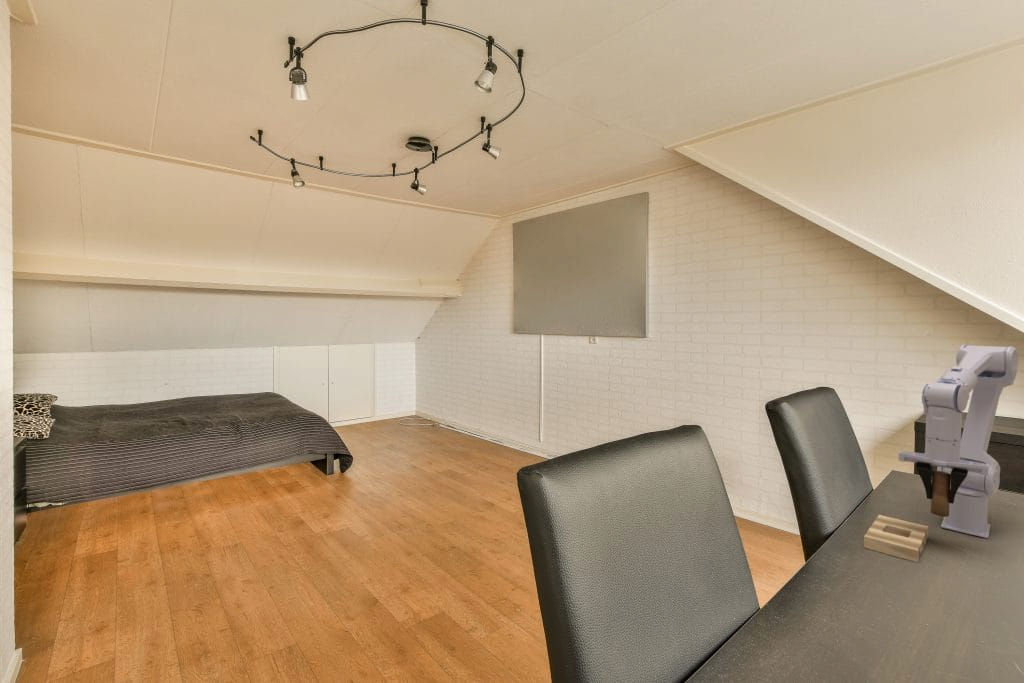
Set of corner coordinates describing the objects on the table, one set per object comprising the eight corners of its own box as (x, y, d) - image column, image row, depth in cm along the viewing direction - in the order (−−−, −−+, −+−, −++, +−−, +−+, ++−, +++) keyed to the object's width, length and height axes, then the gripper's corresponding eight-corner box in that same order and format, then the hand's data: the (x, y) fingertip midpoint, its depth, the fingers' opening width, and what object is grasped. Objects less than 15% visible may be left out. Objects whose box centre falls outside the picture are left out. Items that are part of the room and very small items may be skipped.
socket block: (878, 525, 116) (879, 514, 116) (927, 537, 110) (928, 526, 110) (863, 547, 105) (864, 536, 105) (917, 562, 99) (918, 550, 98)
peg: (931, 509, 108) (933, 470, 107) (949, 513, 106) (951, 473, 105) (929, 513, 106) (931, 473, 105) (948, 517, 104) (950, 476, 103)
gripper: (897, 435, 107) (895, 495, 108) (989, 448, 97) (986, 514, 98) (902, 430, 112) (900, 487, 113) (990, 441, 102) (987, 505, 103)
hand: (940, 499), depth 106 cm, fingers closed on peg, 3 cm apart
